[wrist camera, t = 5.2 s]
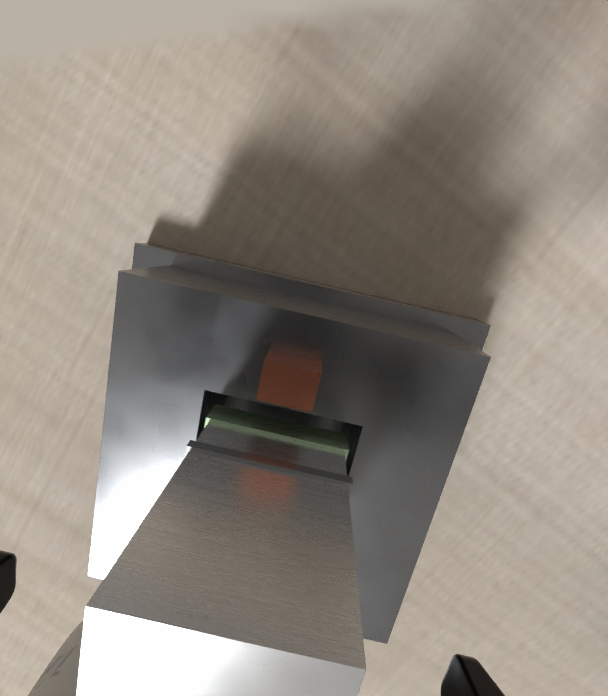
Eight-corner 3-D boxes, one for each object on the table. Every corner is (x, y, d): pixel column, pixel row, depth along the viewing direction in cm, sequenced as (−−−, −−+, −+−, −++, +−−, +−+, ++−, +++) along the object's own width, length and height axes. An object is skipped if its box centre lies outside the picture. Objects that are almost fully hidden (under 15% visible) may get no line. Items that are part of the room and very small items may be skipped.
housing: (480, 320, 16) (568, 362, 10) (398, 557, 19) (430, 693, 13) (146, 243, 16) (44, 240, 10) (117, 493, 19) (25, 601, 13)
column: (347, 434, 12) (375, 666, 5) (316, 544, 13) (307, 853, 7) (215, 403, 12) (79, 599, 5) (195, 517, 13) (59, 798, 6)
